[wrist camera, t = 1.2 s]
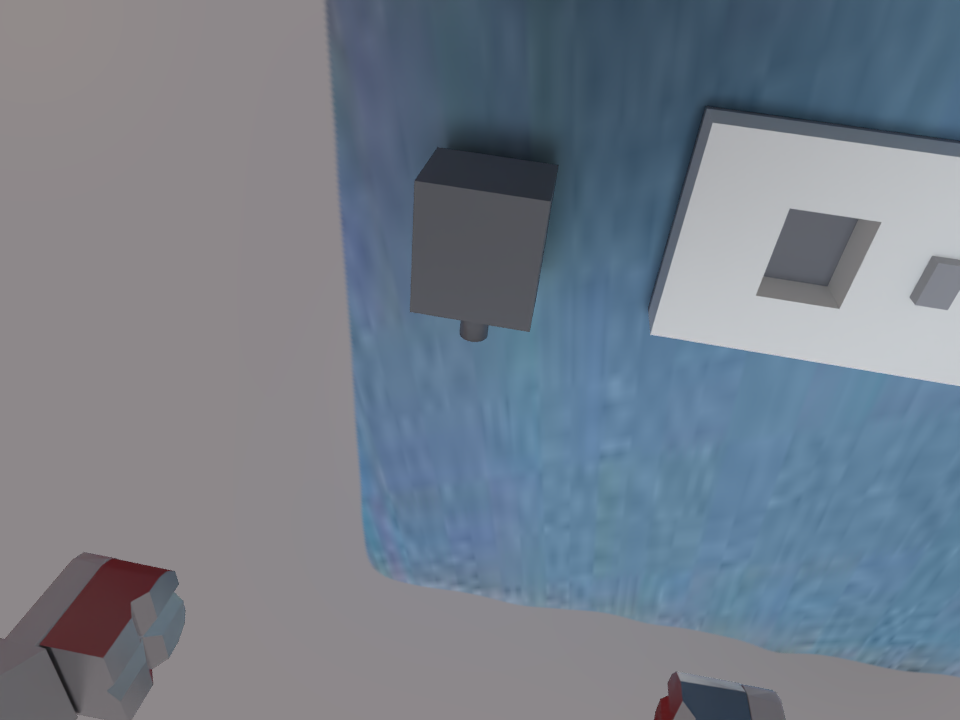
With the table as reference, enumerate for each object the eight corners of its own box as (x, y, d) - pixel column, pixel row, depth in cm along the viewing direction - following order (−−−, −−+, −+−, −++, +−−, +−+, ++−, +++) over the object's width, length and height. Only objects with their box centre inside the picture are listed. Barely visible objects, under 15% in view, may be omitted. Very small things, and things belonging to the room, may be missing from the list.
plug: (445, 135, 36) (414, 180, 31) (560, 152, 36) (550, 201, 30) (436, 287, 42) (408, 348, 36) (535, 303, 42) (523, 368, 36)
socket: (705, 105, 33) (714, 127, 30) (1259, 182, 31) (1329, 214, 28) (648, 307, 40) (650, 342, 37) (1097, 381, 38) (1138, 423, 35)
